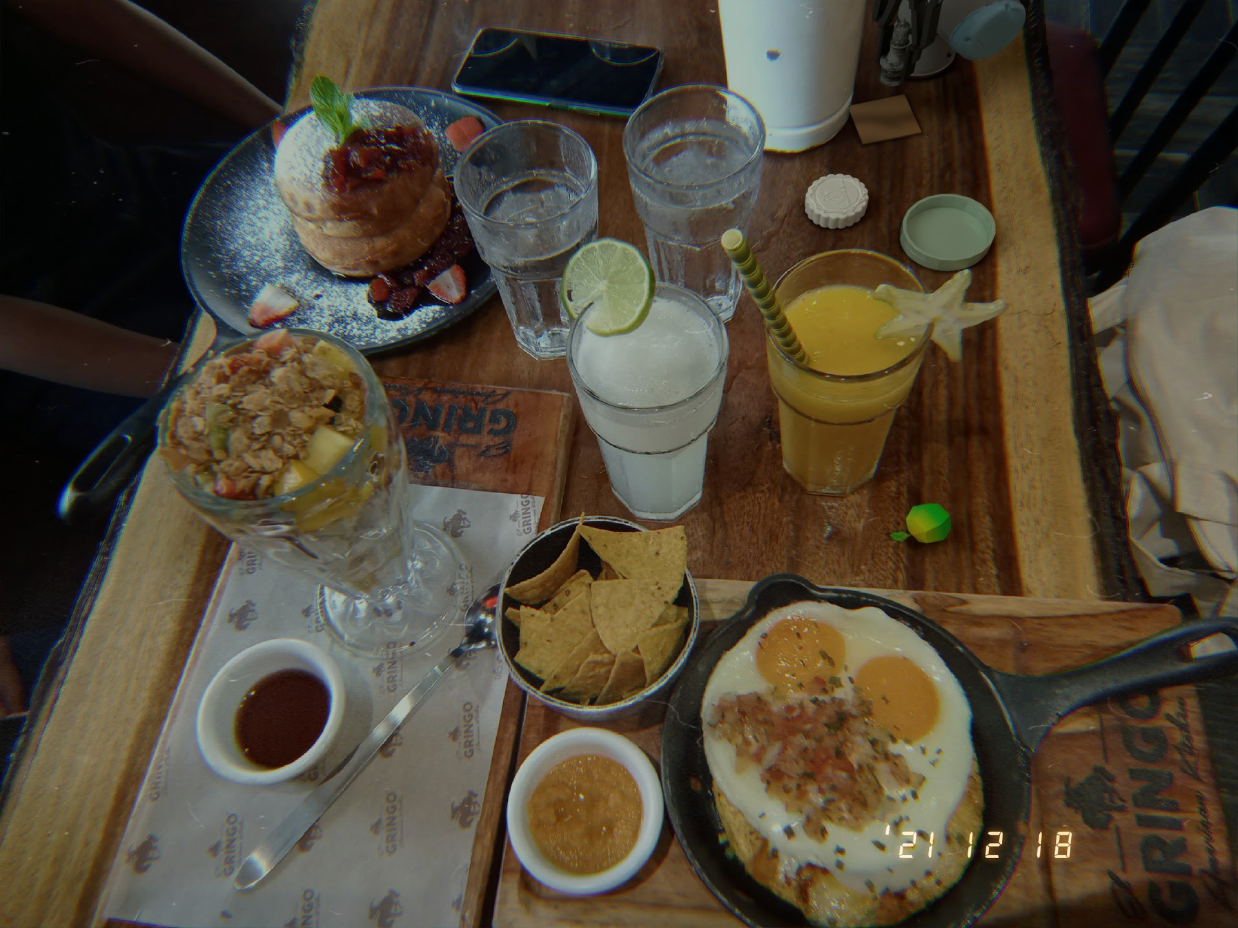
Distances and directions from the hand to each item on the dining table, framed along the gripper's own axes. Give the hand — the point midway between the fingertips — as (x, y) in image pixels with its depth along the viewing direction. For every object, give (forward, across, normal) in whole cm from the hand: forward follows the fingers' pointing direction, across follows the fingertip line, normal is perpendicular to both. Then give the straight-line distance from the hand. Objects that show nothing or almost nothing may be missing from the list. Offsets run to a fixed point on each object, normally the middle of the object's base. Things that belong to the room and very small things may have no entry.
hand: (894, 67), depth 144 cm
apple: (+12, +69, -63) cm, 94 cm away
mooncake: (+12, +11, -24) cm, 29 cm away
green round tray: (+12, +30, -15) cm, 36 cm away
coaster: (+12, 0, 0) cm, 12 cm away
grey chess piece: (+2, 0, 0) cm, 2 cm away
